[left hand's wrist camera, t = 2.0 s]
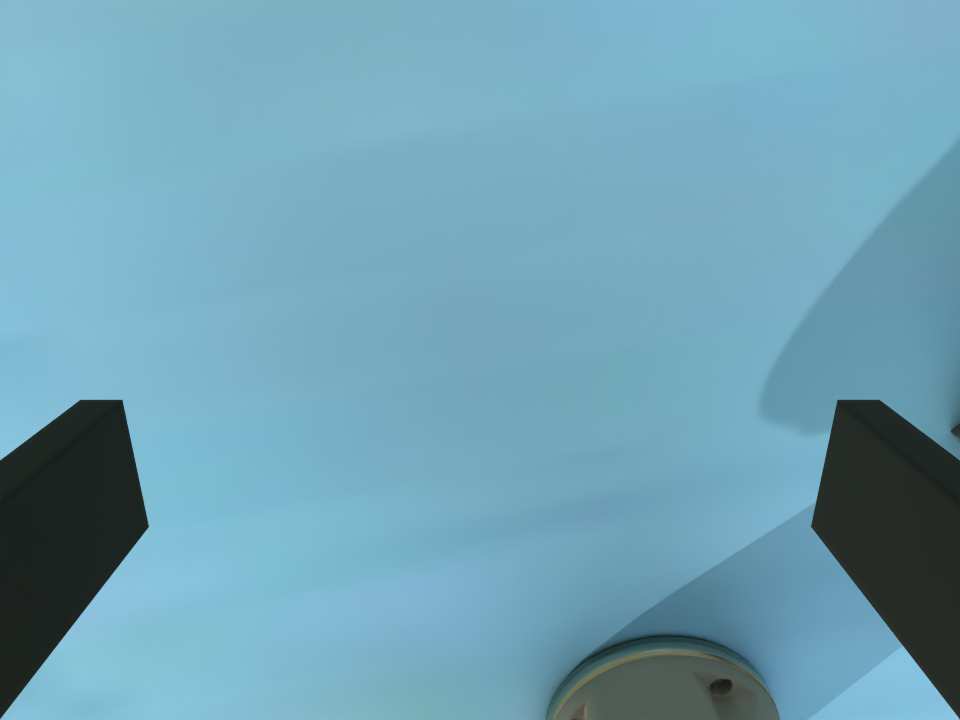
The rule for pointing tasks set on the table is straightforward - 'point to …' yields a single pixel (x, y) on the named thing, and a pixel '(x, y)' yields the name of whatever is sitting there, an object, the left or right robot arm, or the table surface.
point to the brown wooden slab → (956, 432)
